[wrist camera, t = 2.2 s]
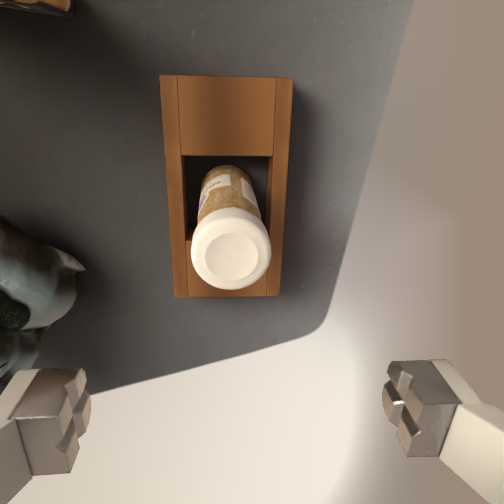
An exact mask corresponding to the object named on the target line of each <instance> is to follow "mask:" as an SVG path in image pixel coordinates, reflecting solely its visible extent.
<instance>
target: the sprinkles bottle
mask: <svg viewBox="0 0 504 504" xmlns="http://www.w3.org/2000/svg"><path fill="white" fill-rule="evenodd" d="M191 259H192V263H193V266H194V268H195V270H196V272H197V273H198V275H199V276H200V277H201V278H202V279H203V280H204V281H206V282H207V283H209V284H210V285H212V286H214V287H217V288H220V289H228V290H234V289H241V288H244V287H247V286H249V285H251V284H253V283H254V282H256V281H257V280H258V279H260V278H261V277H262V275H263V274H264V273H265V271H266V270H267V268H268V266H269V263H270V259H271V245H270V240H269V236H268V233H267V230H266V228H265V226H264V225H263V223H262V222H261V216H260V212H259V209H258V205H257V202H256V198H255V195H254V192H253V190H252V183H251V181H250V178H249V177H248V175H247V174H246V173H245V172H244V171H243V170H242V169H240V168H238V167H236V166H234V165H222V166H218V167H215V168H213V169H212V170H210V171H209V172H208V173H207V174H206V176H205V177H204V178H203V180H202V184H201V196H200V203H199V211H198V224H197V227H196V229H195V232H194V234H193V239H192V245H191Z"/></svg>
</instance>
